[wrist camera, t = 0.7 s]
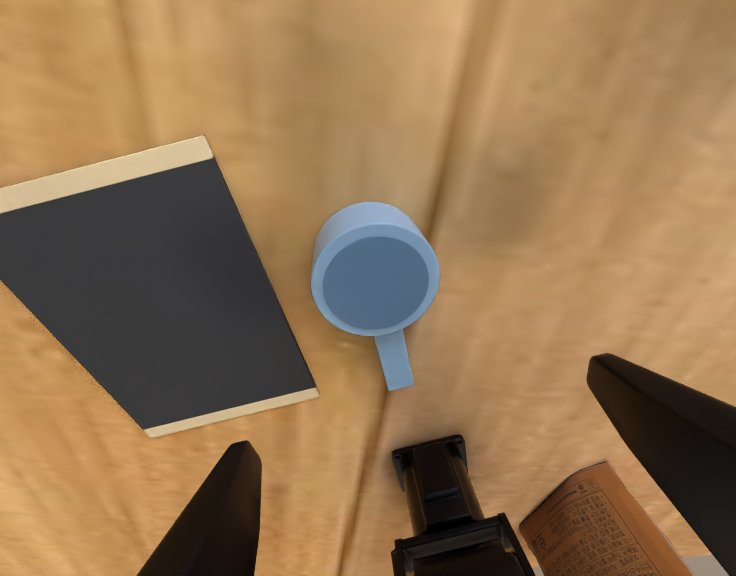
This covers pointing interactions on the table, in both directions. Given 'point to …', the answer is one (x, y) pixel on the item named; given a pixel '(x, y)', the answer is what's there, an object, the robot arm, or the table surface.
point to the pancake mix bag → (599, 531)
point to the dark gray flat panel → (153, 287)
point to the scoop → (375, 279)
